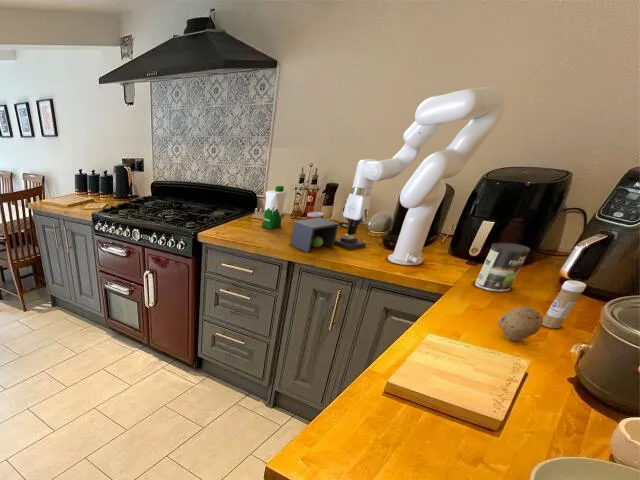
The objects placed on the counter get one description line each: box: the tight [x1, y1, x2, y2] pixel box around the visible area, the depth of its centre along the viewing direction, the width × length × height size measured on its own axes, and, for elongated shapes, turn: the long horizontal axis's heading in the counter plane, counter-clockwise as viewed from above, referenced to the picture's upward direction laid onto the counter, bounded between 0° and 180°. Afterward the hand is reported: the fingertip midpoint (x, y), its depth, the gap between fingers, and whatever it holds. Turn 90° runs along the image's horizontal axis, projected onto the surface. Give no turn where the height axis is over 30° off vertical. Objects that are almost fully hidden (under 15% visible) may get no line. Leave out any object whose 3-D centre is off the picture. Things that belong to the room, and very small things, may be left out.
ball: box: [311, 237, 323, 249], centre depth 191 cm, size 5×5×5 cm
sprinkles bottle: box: [542, 279, 587, 329], centre depth 119 cm, size 5×5×13 cm
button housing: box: [334, 235, 366, 251], centre depth 192 cm, size 12×9×4 cm
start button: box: [344, 233, 356, 239], centre depth 191 cm, size 4×4×2 cm
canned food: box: [305, 211, 325, 220], centre depth 204 cm, size 8×8×11 cm
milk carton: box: [261, 185, 288, 230], centre depth 219 cm, size 9×9×20 cm
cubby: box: [289, 218, 340, 253], centre depth 191 cm, size 13×14×11 cm
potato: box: [497, 306, 544, 342], centre depth 115 cm, size 9×9×10 cm
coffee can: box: [474, 242, 531, 293], centre depth 144 cm, size 10×10×14 cm
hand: (351, 234), depth 190 cm, fingers closed
